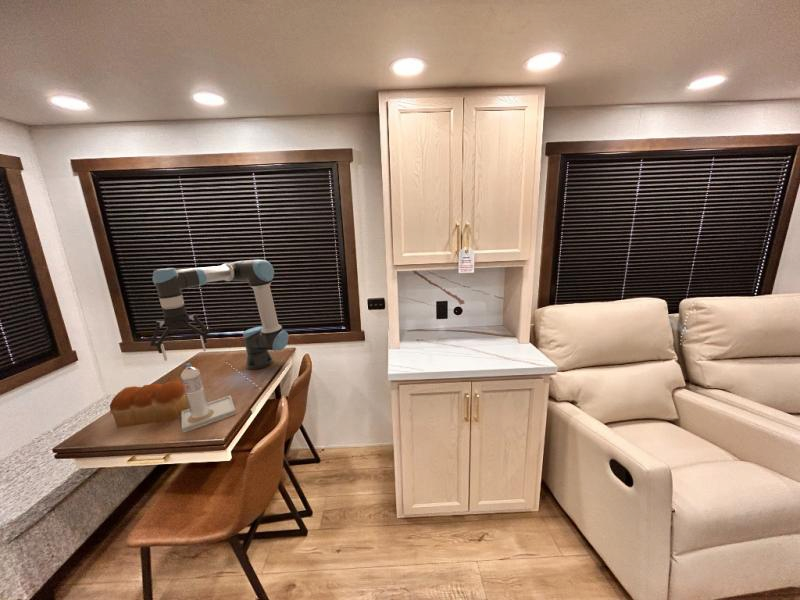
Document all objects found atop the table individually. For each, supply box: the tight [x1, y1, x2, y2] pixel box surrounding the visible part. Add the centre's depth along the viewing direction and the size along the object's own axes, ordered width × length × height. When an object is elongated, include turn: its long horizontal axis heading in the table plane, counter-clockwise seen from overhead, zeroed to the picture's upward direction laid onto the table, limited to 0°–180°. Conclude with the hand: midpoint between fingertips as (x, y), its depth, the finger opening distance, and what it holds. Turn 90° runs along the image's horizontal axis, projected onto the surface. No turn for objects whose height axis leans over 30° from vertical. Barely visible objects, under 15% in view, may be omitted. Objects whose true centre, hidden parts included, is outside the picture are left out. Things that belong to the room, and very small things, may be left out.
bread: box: [109, 380, 189, 428], centre depth 139 cm, size 25×12×15 cm, turn 101°
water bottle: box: [180, 362, 209, 420], centre depth 132 cm, size 7×7×25 cm
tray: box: [180, 395, 237, 434], centre depth 138 cm, size 20×16×2 cm
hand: (185, 355), depth 128 cm, fingers open, 13 cm apart
